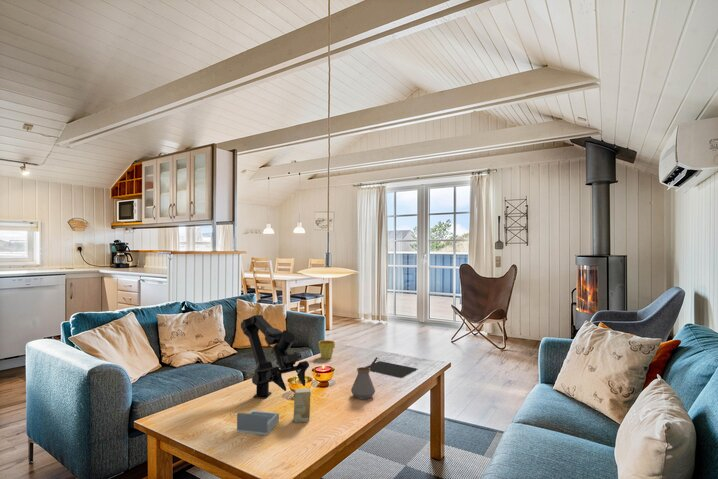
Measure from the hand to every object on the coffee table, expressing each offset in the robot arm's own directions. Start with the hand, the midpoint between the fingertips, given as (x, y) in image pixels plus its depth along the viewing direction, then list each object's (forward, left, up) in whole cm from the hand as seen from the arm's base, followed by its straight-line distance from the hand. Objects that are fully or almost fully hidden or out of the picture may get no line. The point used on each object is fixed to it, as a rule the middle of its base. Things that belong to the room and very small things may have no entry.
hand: (295, 388), depth 168 cm
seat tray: (+13, -10, -11) cm, 20 cm away
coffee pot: (-33, +25, -12) cm, 43 cm away
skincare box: (+3, +4, -12) cm, 13 cm away
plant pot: (-87, -11, -12) cm, 88 cm away
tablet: (-73, +31, -12) cm, 80 cm away
